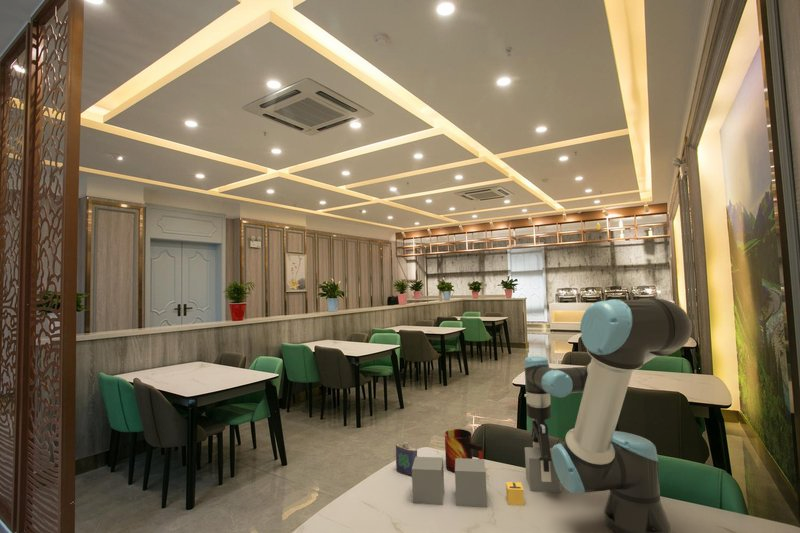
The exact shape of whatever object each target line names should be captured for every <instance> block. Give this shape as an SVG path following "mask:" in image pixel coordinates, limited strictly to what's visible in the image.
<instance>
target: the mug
mask: <svg viewBox="0 0 800 533" xmlns="http://www.w3.org/2000/svg"><path fill="white" fill-rule="evenodd" d="M472 437H473V436H472V432H471V431H469V430H467V429H463V428H453V429H448V430H446V431H445V432H444V447H445V448H444V449H445V469H446V470H447V471H449V472H450V473H453V474H455V460H456V458H465V459H473V450H476V451H478V459H484V458H483V446H482V445H481V444H477V443H474V442H473V440H472V439H473V438H472Z"/></svg>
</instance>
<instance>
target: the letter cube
mask: <svg viewBox="0 0 800 533" xmlns="http://www.w3.org/2000/svg"><path fill="white" fill-rule="evenodd" d="M523 487H524V486H523V484H522V482H521V481H519V482H518V481H517V482H516V481H506V482H505V488H506V490H505V491H506V500H507V504H508V505H510V506H511V505H513V506H525V496H524V493H525V492H524V488H523Z"/></svg>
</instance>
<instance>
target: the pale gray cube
mask: <svg viewBox="0 0 800 533" xmlns="http://www.w3.org/2000/svg"><path fill="white" fill-rule="evenodd" d="M486 473H487V472H486V465H485V459H484V458H483V459H479V458H472V459H465V458H456V460H455V473H454V484H455V506H457V507H458V506H459V507H479V508H488V499H487V496H488V493H487V475H486Z"/></svg>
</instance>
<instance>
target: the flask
mask: <svg viewBox="0 0 800 533" xmlns="http://www.w3.org/2000/svg"><path fill="white" fill-rule="evenodd" d="M402 443H403V444H402ZM408 445H409V442H408V441H404V442H401V443H397V444H396V445H395V458H396V459H395V460H396V461H395V463H396V464H395V469H396V470H395V471H396V472H398V473H400V474H402V475H405V476H409V477H412V466H413V463H414V460H415V457H418V449H417V448H415V447H411V446H408Z"/></svg>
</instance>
